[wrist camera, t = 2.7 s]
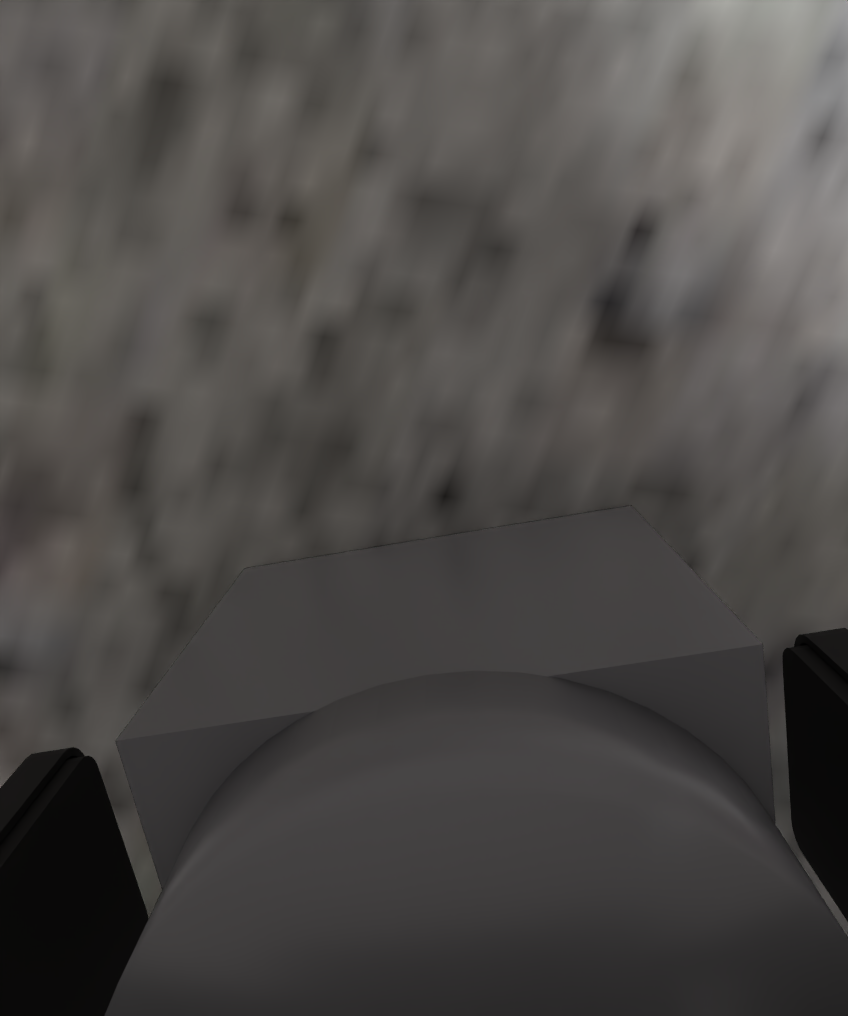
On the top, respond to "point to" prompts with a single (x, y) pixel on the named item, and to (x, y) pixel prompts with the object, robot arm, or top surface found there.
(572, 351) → the top surface
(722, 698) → the knob
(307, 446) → the top surface
